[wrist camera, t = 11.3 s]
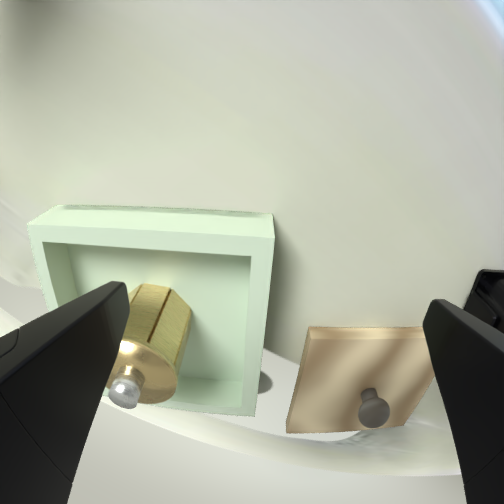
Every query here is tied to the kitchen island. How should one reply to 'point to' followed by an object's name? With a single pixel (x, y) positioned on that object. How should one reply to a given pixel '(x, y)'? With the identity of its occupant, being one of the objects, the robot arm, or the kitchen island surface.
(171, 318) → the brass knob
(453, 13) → the kitchen island surface
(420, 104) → the kitchen island surface
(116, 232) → the bin
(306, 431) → the stud plate
